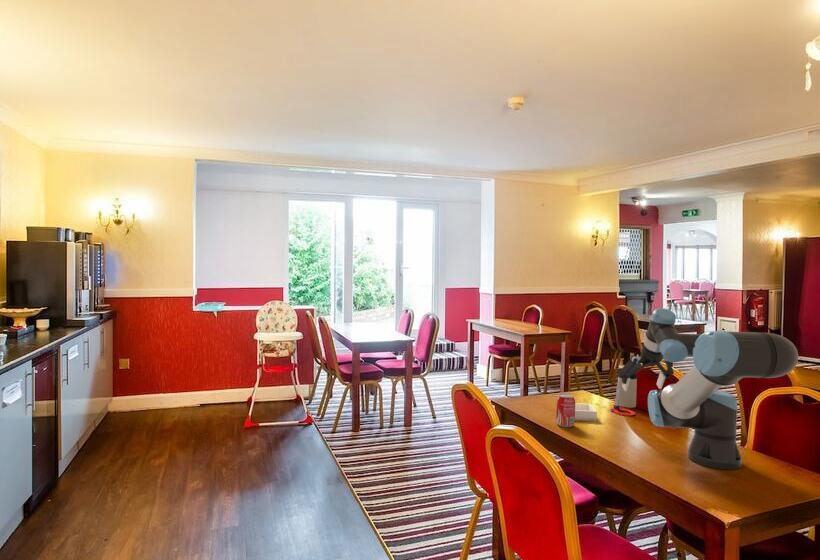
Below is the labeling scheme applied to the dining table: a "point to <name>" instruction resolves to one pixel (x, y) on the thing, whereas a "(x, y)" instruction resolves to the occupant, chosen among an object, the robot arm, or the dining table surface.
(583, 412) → the open white tray
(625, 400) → the travel mug
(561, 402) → the soda can
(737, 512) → the dining table surface
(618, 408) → the tow hook
